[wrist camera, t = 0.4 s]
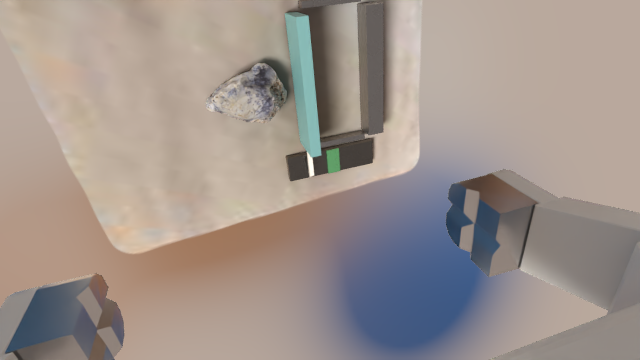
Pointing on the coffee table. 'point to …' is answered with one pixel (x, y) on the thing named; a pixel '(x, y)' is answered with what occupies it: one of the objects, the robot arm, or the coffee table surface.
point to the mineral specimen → (250, 95)
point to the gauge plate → (304, 83)
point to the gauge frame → (369, 99)
